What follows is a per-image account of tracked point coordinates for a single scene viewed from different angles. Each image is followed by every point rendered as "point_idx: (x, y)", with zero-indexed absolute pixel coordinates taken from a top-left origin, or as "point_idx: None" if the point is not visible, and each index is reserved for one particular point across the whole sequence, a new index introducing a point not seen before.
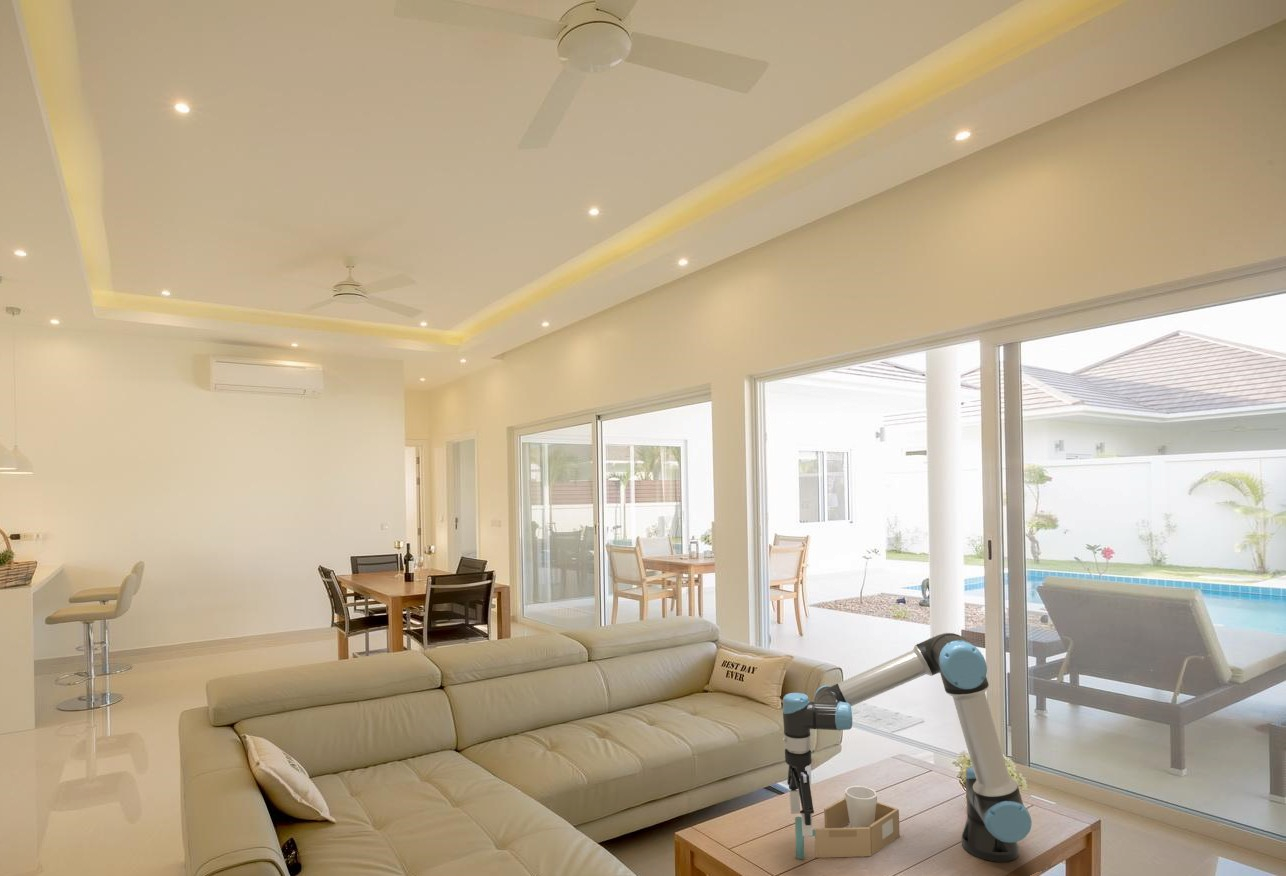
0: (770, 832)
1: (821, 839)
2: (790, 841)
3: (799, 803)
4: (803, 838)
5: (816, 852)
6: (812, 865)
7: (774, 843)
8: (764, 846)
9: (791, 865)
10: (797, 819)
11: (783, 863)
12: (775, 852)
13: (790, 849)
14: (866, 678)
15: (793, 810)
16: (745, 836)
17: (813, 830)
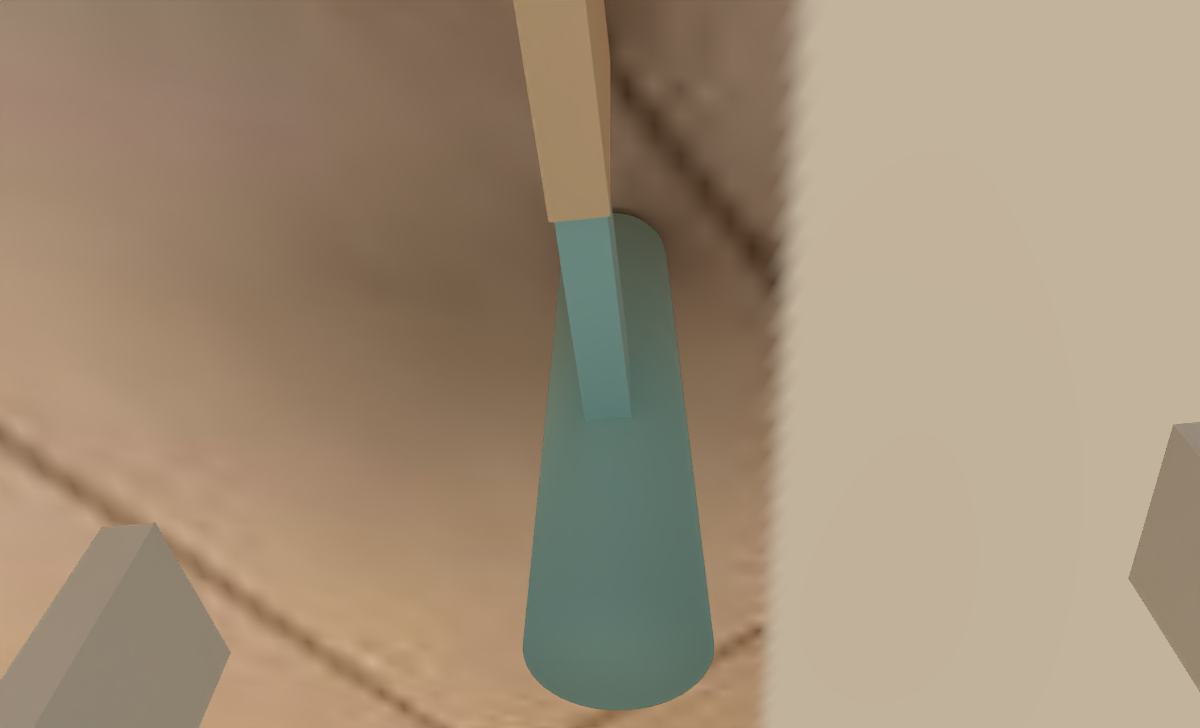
0: (86, 493)
1: (597, 26)
2: (225, 321)
3: (46, 724)
4: (659, 359)
5: (609, 68)
6: (793, 129)
7: (322, 476)
8: (408, 558)
9: (780, 363)
10: (659, 680)
11: (736, 431)
12: (514, 481)
13: (422, 339)
14: None
15: (184, 675)
16: (255, 676)
17: (606, 247)
